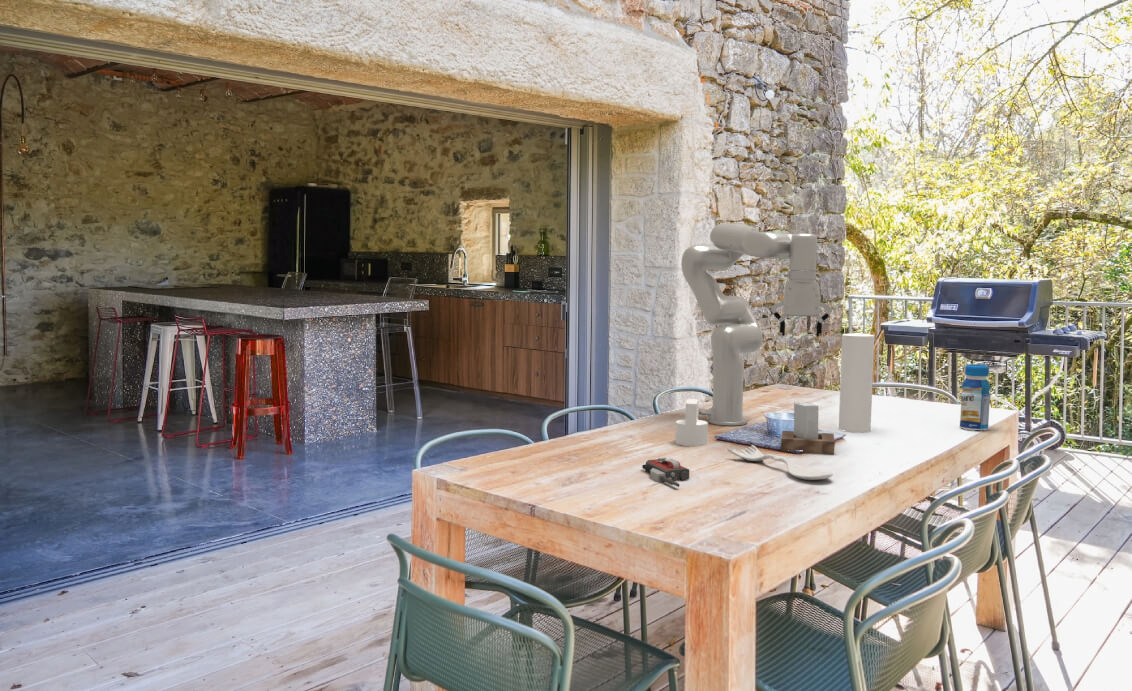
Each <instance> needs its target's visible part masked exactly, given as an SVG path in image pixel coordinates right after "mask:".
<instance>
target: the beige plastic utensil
mask: <svg viewBox="0 0 1132 691" xmlns="http://www.w3.org/2000/svg"><path fill="white" fill-rule="evenodd" d="M726 450H727V452H728V453H730V454H732V455H734V456H736V457H738V458H742V459H744V460H746V461H749V462H750V461H751V462H761V461H764V460H767V459H770V460H774V461H776V462H782V463H783V464H785V465H786V469H787V472H788V473H789V474H790V475H791V476H794V477H795V478H797V479H802V480H804V481H819V480H825V479H829V478H831V477H833V475H834V473H833V472H829V471H824V470H819V469H816V468H812V467H807V466H804V465H800V464H797V463H795V462H792V461H790V460H789V459H787V458H785V457H784V456H779V455H776V454H770V453H767V454H763V453H762V452H761V451H760V450H759V449H758V448H757V446H755V445H753V444H751V446H748V447H747V448H744V449H740V450H738V449H734V448H732V449H731V448H729V447H727V449H726Z"/></svg>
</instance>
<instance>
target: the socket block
mask: <svg viewBox="0 0 1132 691" xmlns="http://www.w3.org/2000/svg"><path fill="white" fill-rule="evenodd" d="M835 443H836V442H835V434H834V433H831V432H830V433H829V432H827V433H826V432H818V439H804V438H794V430H782V433H781V439H780V452H783V453H784V452H789V453H792V452H791V451H795V450H803V452H802V453H803V454H817V455H818V454H819V455H831V456H833V455H835V445H836V444H835ZM788 450H789V451H788Z"/></svg>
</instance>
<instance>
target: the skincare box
mask: <svg viewBox="0 0 1132 691" xmlns="http://www.w3.org/2000/svg"><path fill="white" fill-rule="evenodd" d="M793 413H794V414H793V418H794V419H793V426H794V427H793V431H794V438H804V439H818V433H819V405H817V404H814V403H810V402H794V404H793Z"/></svg>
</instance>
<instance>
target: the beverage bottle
mask: <svg viewBox="0 0 1132 691" xmlns="http://www.w3.org/2000/svg"><path fill="white" fill-rule="evenodd" d="M964 375H965V376H966V378H964V380H963V382H962V384H961V388H962V391H961V393H960V398H961V399H960V416H959V417H960V420H959V428H960V429H962V428H963V429H962V430H965V429H968V430H967V431H970V430H984V431H983V432H985V431H988V430H989V422H990V421H989V418H990V417H989V416H990V405H991V404H990V403H991V402H990V401H991V398H992V397H991V396H992V395H991V393H990V391H991V384H990V382H989V381H988V379H987V378H988V377H989V375H990V367H989V365H986V364H966V365H965V367H964Z"/></svg>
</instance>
